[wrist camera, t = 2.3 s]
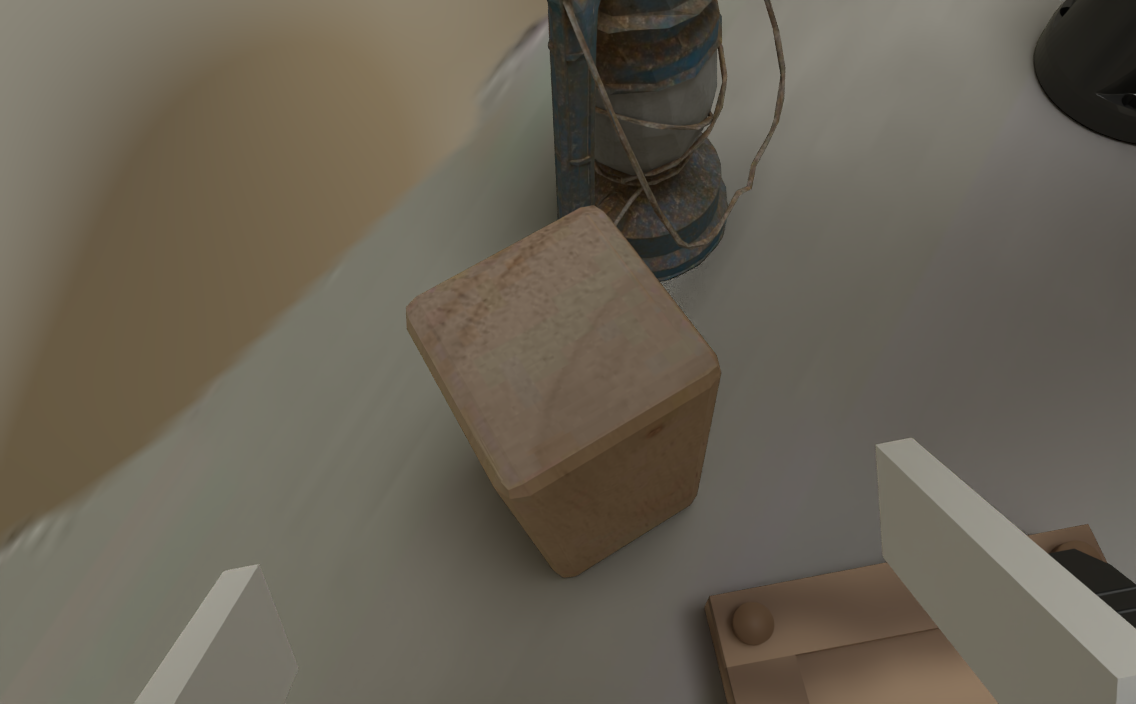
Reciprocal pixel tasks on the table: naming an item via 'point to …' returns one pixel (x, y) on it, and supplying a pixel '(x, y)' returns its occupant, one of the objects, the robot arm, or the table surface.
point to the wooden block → (573, 385)
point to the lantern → (644, 121)
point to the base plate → (886, 674)
